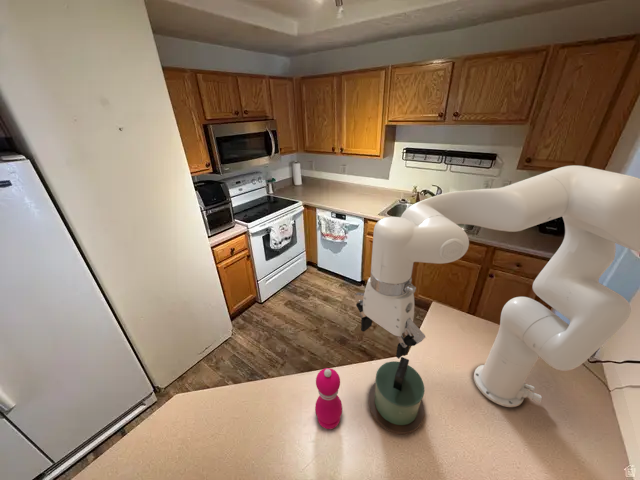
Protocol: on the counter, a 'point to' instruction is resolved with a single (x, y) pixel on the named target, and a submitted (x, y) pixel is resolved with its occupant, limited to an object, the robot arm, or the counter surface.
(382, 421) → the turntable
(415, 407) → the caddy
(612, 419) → the counter surface
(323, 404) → the pepper mill
